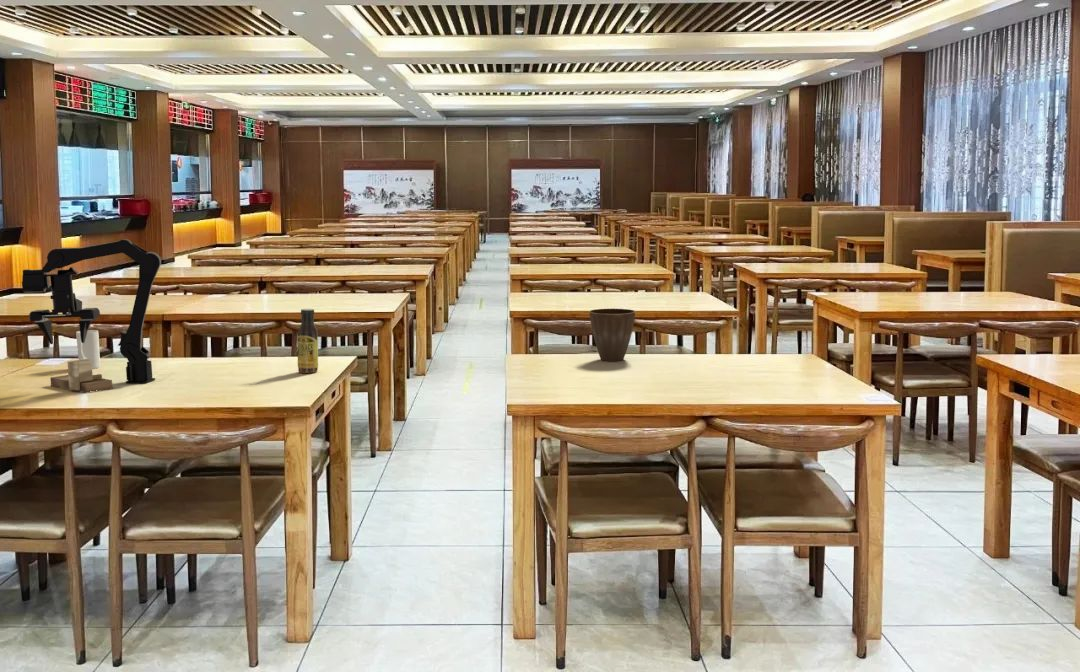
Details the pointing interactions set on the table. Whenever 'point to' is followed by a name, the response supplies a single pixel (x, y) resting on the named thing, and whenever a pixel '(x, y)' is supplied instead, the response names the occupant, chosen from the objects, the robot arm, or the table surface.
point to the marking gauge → (80, 373)
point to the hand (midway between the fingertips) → (67, 343)
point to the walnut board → (82, 383)
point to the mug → (89, 347)
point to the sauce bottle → (307, 343)
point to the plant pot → (612, 332)
